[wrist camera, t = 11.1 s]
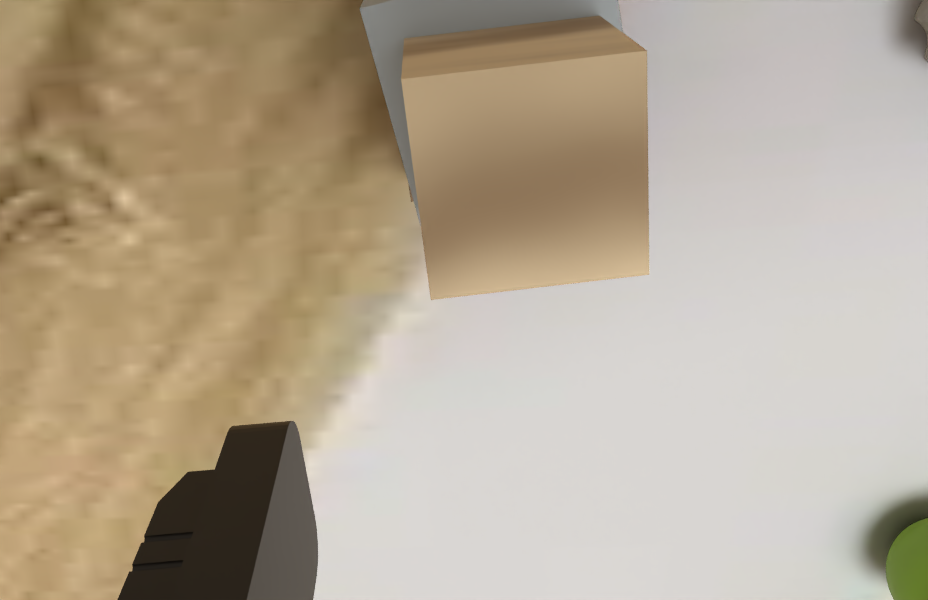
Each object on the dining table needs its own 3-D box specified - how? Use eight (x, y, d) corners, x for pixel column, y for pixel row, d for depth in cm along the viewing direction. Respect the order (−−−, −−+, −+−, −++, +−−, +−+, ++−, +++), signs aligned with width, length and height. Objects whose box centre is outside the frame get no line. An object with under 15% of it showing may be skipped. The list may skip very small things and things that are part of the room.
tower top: (366, -7, 27) (359, 8, 24) (586, -64, 26) (609, -57, 23) (423, 200, 30) (424, 238, 27) (621, 151, 30) (646, 184, 26)
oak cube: (403, 38, 24) (401, 79, 19) (599, 15, 24) (646, 50, 19) (428, 221, 27) (431, 299, 22) (605, 200, 27) (649, 274, 22)
